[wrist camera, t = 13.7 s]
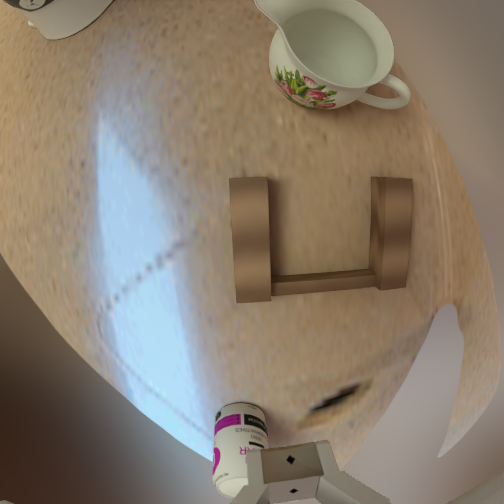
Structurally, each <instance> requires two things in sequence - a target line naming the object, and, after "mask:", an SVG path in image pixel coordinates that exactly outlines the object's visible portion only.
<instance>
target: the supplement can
mask: <svg viewBox="0 0 504 504" xmlns="http://www.w3.org/2000/svg"><path fill="white" fill-rule="evenodd" d="M267 448H269V442H268V435H267V428H266V421H265V416H264V414H263V412H262V411H261V410H260V409H259V408H257V407H255V406H253V405H250V404H245V403H234V404H231V405H228V406H225V407H223V408H222V409H220V410H219V411H218V413H217V414H216V416H215V433H214V455H213V483H214V485H215V486H216V488H217V491H218V492H219V493H220V494H221V495H223V496H225V497H228V498H232V499H234V498H235V497H236V495H237V494H238V493H239V491H240V490H241V489H242V487H243V486H244V485H248V478H247V462H246V450H253V449H260V451H261V449H267Z"/></svg>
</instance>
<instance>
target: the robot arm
mask: <svg viewBox="0 0 504 504" xmlns="http://www.w3.org/2000/svg"><path fill="white" fill-rule="evenodd" d="M3 1H4V2H5V3H8V4H10V5H11V6H13V7H15V8H16V9H17V10H18V11H19V12H20V13H21V14H22V15H23V16H24V17H25V18H26V19H28V24H29V25H30V26H31V27H33V28H37V29H38V30H39V32H40V33H41V34H42V36H44V37H45V38H47V39H52V40H55V39H61V38H65V37H68V36H70V35H72V34H75V33H76V32H78V31H80V30H82V29H83V28H85V27H86V26H88V25H89V24H90V23H91V22H93V21H94V20H95V19H96V18H97V17H98V16H99V15H100V14H101V13H102V12H103V11H104V10H105V9H106V8H107V7H108V6H109V4H110V3H111V2H112V1H113V0H3ZM246 462H247V478H248V485H244V486H243V487H242V489H241V490H240V491H239V493H238V494H237V495H236V497H235V498H234V499H233V501H232V502H231V503H230V504H273V503H281V502H288V501H294V500H302V499H309V498H315V497H316V499H317V500H318V501H319V502H320V503H321V504H391V503H390V500H389V499H388V498H386V497H385V496H383V495H381V494H379V493H378V492H376V491H374V490H373V489H371V488H369V487H368V486H366V485H364V484H363V483H361V482H360V481H358V480H356V479H355V478H353V477H352V476H350V475H349V474H347V473H346V472H344V471H341V472H340V471H339V468H338V465H337V462H336V460H335V457H334V454H333V451H332V448H331V445H330V442H329V441H328V440H322V441H317V442H309V443H304V444H298V445H291V446H287V447H278V448H267V449H261V451H260V449H253V450H246ZM0 504H12V503H11V502H8V501H0ZM446 504H504V467H503V468H502V469H500V470H499V471H498V472H496V473H495V474H493V475H492V476H491V477H489V478H488V479H486V480H485V481H483V482H482V483H480V484H479V485H477V486H475V487H474V488H472V489H471V490H469V491H467V492H466V493H464V494H462V495H461V496H459V497H457V498H456V499H454V500H452V501H450V502H448V503H446Z"/></svg>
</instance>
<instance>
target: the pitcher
mask: <svg viewBox="0 0 504 504" xmlns="http://www.w3.org/2000/svg"><path fill="white" fill-rule="evenodd" d="M254 2H255V5H256V6H257V7H258V8H259V10H260V11H261V12H262V13H263V14H265V15H266V16H267V17H268V18H269V19H270V20H271V21H273V22H274V23H275V24H276V25H277V26H278V30H277V31H276V33H275V35H274V37H273V40H272V42H271V46H270V50H269V68H270V72H271V75H272V78H273V81H274V82H275V84H276V86H277V87H278V89H279V90H280V91H281V92H282V94H283V95H284V96H285V97H287V98H288V99H289V100H291V101H292V102H294V103H296V104H298V105H300V106H302V107H306V108H309V109H316V110H328V109H334V108H339V107H342V106H345V105H347V104H349V103H351V102H353V101H355V100H358V101H360V102H362V103H365V104H368V105H370V106H374V107H377V108H381V109H388V110H395V109H399V108H402V107H404V106H406V105H407V104H408V103H409V101H410V98H411V92H410V89H409V88H408V86H407V85H406V84H405V83H404V82H403V81H401V80H400V79H398V78H397V77H395V76H393V75H391V74H389V72H390V71H391V68H392V66H393V63H394V55H395V53H394V45H393V41H392V38H391V36H390V34H389V32H388V30H387V28H386V27H385V25H384V24H383V22H382V21H381V20H380V19H379V18H378V17H377V16H376V15H375V14H374V13H373V12H372V11H371V10H370V9H368V8H367V7H366V6H364V5H363V4H361V3H359V2H358V1H356V0H254ZM376 83H380V84H383V85H386V86H388V87H390V88H392V89H393V90H395V91H396V92H397V93H398V94H399V96H398V97H396V98H389V99H388V98H382V97H378V96H374V95H371V94H368V93H365V92H366V91H367V89H368V88H369V86H372V85H374V84H376Z"/></svg>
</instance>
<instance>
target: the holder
mask: <svg viewBox="0 0 504 504" xmlns="http://www.w3.org/2000/svg"><path fill="white" fill-rule="evenodd" d="M229 185H230V204H231V222H232V240H233V256H234V272H235V288H236V302H237V303H248V302H264V301H271V296H276V295H290V294H302V293H314V292H325V291H336V290H346V289H356V288H365V287H374V286H375V287H377V288H378V289H379V290H388V289H396V288H404V287H406V280H407V272H408V262H409V251H410V239H411V222H412V179H405V178H386V177H371V233H370V254H369V269H364V270H352V271H339V272H327V273H314V274H300V275H285V276H271V272H270V237H269V207H268V181H267V177H250V178H230V179H229Z"/></svg>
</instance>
